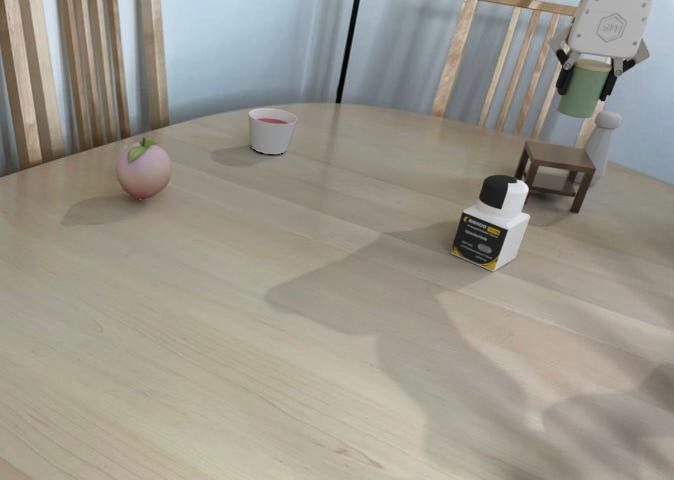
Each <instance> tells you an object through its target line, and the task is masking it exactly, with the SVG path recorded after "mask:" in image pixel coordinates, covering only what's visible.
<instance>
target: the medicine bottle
mask: <svg viewBox="0 0 674 480" xmlns="http://www.w3.org/2000/svg"><path fill="white" fill-rule="evenodd" d="M528 191H529V188H528V186H527V185H526V184H525V183H524V181H523V180H522V179H521V180H519V179H517V178H515V177H514V176H512V175H507V174H493V175H489V176H487V177H486V178H484V180H483V183H482V186H481V188H480V193H479V196H478V198H477V203H475V204H473V205H471V206H469V207H467V208H465V209H463V210H462V212H461V216H460V219H459V222H458V225H457V228H456V232H455V236H454V239H453V241H452V244H451V248H450V254H451V255H453V256H455V257H457V258H460V259H462V260H465V261H466V262H468V263H471V264H474V265H475V266H477V267H480V268H483V269H485V270H488V271H490V272H491V273H492V272H493V273H494V272H495V271H497V270H499V269H500V268H502V267H503V266H505V265H507V264H509V263H510V262H512V261H513V260H515V259H516V257H517V254H518V251H519V249H520V246H521V243H522V241H523V238H524V235H525V232H526V231H527V228H528V224H529V222H530V219H531V215H530V214H528V213H525V212H523V208H524V205H525V204H524V202H525V199H526V196H527V194H528Z"/></svg>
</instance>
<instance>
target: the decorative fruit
mask: <svg viewBox="0 0 674 480" xmlns="http://www.w3.org/2000/svg"><path fill="white" fill-rule="evenodd" d="M172 166H173V165H172V161H171V158H170V156H169V155H168V153H167V152H166V150H164V149H163V148H161V147H160V146H159V145H157V142H156V141H155V140H151V139H147V138H146V137H142V139H141V140H140V141H138V142H135V143H132V144H130V145H128V146H127V147H126V148H125V149H124V152H123V153H122V154H121V156H120V157H119V158H118V160H117V163H116V164H115V175H116V180H117V181H118V184H119V185H120V187H121V188H122V189H123V191H124V192H125V193H126V194H127V195H129V196H130V197H131V198H134V199H136V198H137V199H136V200H138V199H143V200H146V199H150V198H153V197H154V196H156V195H158V194H159V193H160V192H162V191H164V189H166V187H167V186H168V184H169V182H170V180H171V177H172V173H173V172H172V171H173V169H172V168H173V167H172Z"/></svg>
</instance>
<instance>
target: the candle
mask: <svg viewBox="0 0 674 480" xmlns="http://www.w3.org/2000/svg"><path fill="white" fill-rule="evenodd" d="M297 122H298V117H297V115H295V114H293V113H291V112H290V111H287V110H283V109H278V108H272V107H271V108H269V107H268V108H267V107H265V108H264V107H261V108H260V107H259V108H254V109H252V110H250V111H249V112H248V127H249V143H250V144H251V145H250V144H249V145H250V147H251V146H252V147H253V148H255V149H257V150H260V151H263V152H267V153H283V152H285V151H286V152H287V151H288V148H289V146H290V142H291V139H292V137H293V133H294V131H295V129H296V128H295V127H296V125H297ZM286 152H285V153H286ZM283 154H284V153H283Z"/></svg>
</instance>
